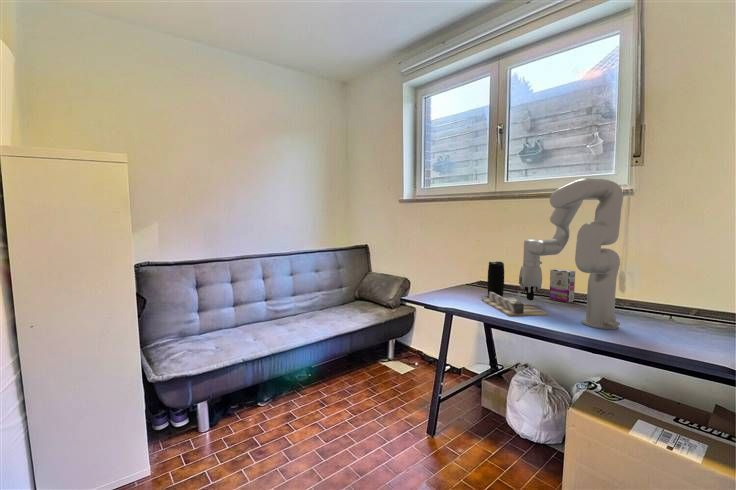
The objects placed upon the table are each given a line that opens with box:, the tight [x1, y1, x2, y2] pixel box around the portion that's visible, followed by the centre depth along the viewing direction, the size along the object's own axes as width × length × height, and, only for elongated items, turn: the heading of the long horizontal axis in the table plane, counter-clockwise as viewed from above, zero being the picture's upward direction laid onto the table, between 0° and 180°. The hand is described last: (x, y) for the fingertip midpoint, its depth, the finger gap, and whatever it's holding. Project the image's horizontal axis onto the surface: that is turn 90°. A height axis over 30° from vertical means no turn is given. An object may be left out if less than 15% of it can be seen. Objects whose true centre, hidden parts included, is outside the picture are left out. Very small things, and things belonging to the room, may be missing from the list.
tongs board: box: [481, 292, 548, 317], centre depth 169 cm, size 30×18×5 cm, turn 5°
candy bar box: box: [549, 268, 576, 304], centre depth 182 cm, size 11×5×16 cm, turn 25°
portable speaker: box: [487, 261, 505, 297], centre depth 190 cm, size 9×9×20 cm
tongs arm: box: [516, 291, 522, 303], centre depth 168 cm, size 25×2×4 cm, turn 155°
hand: (530, 299), depth 173 cm, fingers closed
